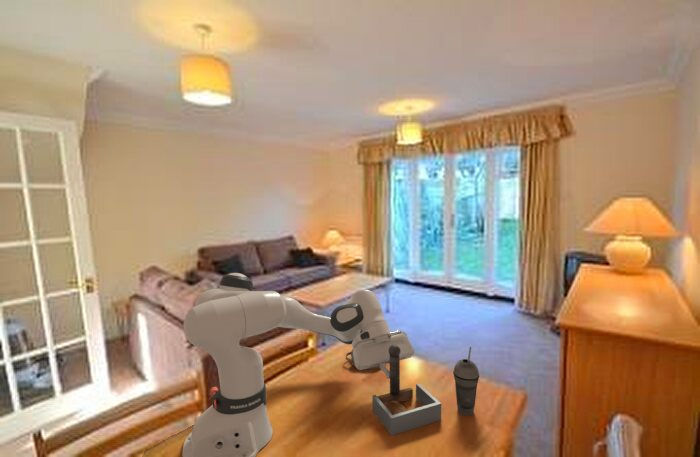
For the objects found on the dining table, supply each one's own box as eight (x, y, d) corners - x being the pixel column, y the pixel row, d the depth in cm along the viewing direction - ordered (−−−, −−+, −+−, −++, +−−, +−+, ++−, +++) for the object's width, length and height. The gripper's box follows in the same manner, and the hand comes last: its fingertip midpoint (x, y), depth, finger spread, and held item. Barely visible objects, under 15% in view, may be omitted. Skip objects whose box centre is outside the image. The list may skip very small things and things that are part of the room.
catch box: (391, 435, 96) (391, 418, 95) (372, 411, 106) (372, 395, 106) (441, 419, 102) (441, 403, 101) (418, 398, 112) (418, 383, 112)
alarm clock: (387, 361, 130) (346, 356, 130) (385, 374, 131) (344, 368, 130) (384, 348, 142) (346, 342, 141) (382, 359, 142) (344, 354, 142)
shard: (417, 425, 100) (417, 419, 100) (393, 432, 97) (393, 426, 97) (397, 403, 110) (397, 398, 110) (375, 410, 107) (375, 404, 107)
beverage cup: (460, 400, 111) (461, 338, 108) (483, 410, 105) (484, 345, 103) (448, 411, 106) (448, 346, 103) (471, 422, 100) (472, 354, 98)
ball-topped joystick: (380, 410, 106) (379, 351, 104) (374, 403, 109) (373, 346, 107) (414, 400, 111) (414, 343, 108) (408, 394, 114) (408, 339, 112)
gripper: (400, 333, 125) (416, 372, 118) (347, 344, 117) (360, 388, 110) (407, 325, 121) (424, 366, 113) (352, 337, 113) (366, 381, 105)
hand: (392, 377), depth 111 cm, fingers closed, pressing on ball-topped joystick
